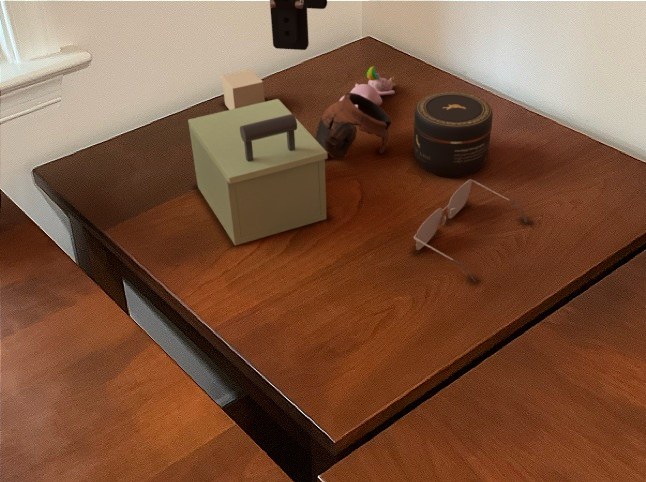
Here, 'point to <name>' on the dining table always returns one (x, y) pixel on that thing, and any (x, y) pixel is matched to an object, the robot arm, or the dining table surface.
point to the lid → (256, 140)
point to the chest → (261, 197)
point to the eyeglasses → (454, 206)
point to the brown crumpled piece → (351, 124)
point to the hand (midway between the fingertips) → (301, 26)
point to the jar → (452, 133)
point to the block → (242, 89)
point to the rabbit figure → (374, 87)
